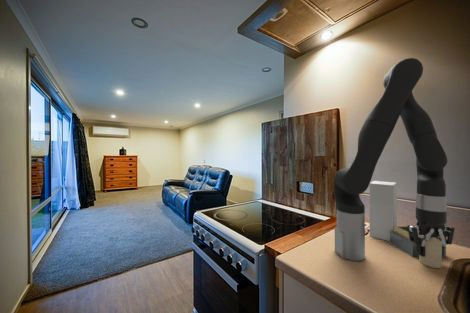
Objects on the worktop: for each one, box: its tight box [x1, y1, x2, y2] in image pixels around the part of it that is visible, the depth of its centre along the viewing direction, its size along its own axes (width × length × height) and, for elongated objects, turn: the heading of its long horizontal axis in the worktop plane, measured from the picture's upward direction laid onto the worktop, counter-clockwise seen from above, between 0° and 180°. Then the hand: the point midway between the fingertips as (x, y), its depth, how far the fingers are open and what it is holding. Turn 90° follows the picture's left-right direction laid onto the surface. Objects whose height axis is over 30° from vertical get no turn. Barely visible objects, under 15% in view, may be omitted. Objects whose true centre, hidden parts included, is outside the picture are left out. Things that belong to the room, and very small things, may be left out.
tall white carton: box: [368, 180, 398, 242], centre depth 88 cm, size 9×9×25 cm
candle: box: [418, 235, 443, 269], centre depth 67 cm, size 6×6×10 cm
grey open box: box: [389, 225, 447, 258], centre depth 76 cm, size 12×11×8 cm
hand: (430, 255), depth 67 cm, fingers closed on candle, 5 cm apart
